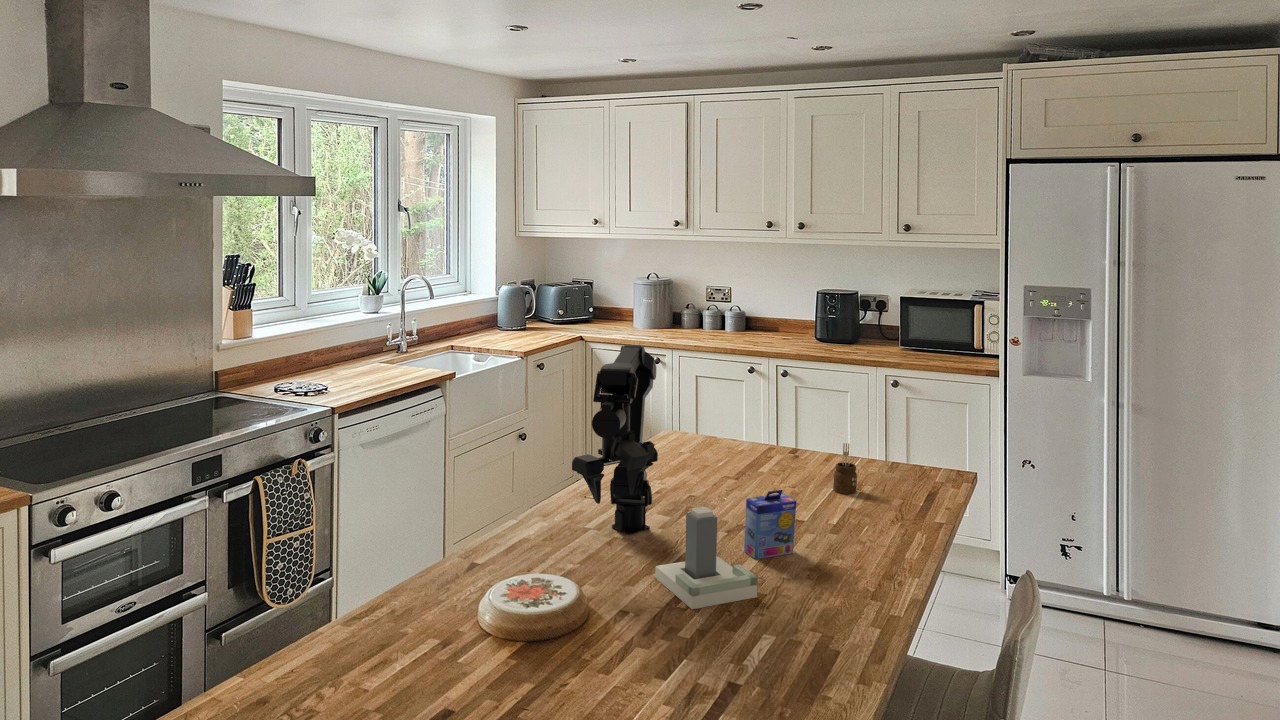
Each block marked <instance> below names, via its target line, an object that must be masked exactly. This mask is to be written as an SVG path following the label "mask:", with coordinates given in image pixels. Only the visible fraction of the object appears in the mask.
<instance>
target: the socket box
mask: <svg viewBox="0 0 1280 720" xmlns="http://www.w3.org/2000/svg"><path fill="white" fill-rule="evenodd" d="M655 579H656V580H657V581H658V582H660V584H662V585H663V586H664V587H666V589H668V590H669V591H670V592H671V593H672V594H673V595H674V596H676V597H677V598H678V599H680V601H682V603H684V604H685V605H686V606H687V607H688V608H690V609H691V610H696V609H701V608H707V607H712V606H717V605H722V604H727V603H733V602H737V601H744V600H749V599H754V598H758V579H759V578H758V576H757V575H756V574H754V573H752V572H751V571H750V570H749V569H747V568H746V567H744V566H743V565H741V564H739V563H738V564H733V565H730V564H729V563H727V562H726V561H725V560H724V559H722V558H720V557H719V556H717V555H716V576H712V577H706V578H700V579H693V578H691V577H690V576H689V575H688V574H686V573H685V560H684V561H678V562H674V563H667V564H660V565H655Z"/></svg>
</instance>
